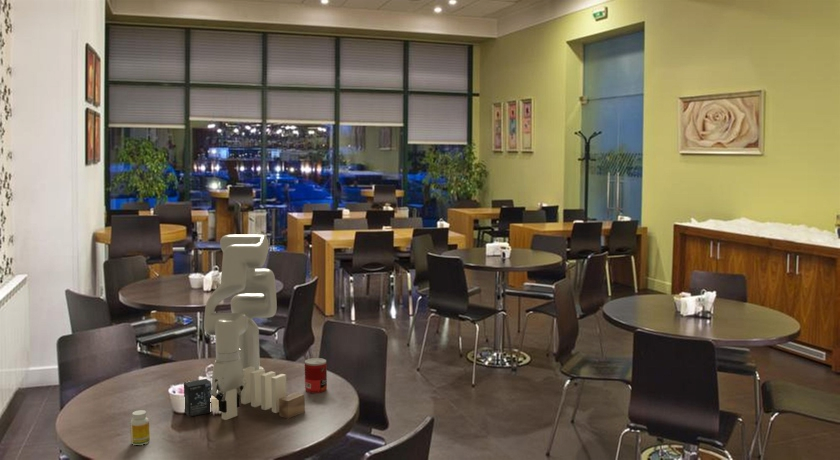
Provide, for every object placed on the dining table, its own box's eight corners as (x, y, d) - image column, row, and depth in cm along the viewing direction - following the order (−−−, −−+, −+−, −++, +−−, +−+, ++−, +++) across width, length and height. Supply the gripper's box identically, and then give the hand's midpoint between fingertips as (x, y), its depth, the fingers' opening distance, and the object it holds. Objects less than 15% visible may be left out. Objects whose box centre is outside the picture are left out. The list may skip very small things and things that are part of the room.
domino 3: (251, 406, 264) (250, 372, 263) (261, 401, 269) (260, 368, 267) (255, 407, 263) (254, 373, 262) (265, 403, 267) (265, 369, 266)
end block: (279, 416, 255) (279, 398, 254) (296, 409, 261) (295, 392, 261) (288, 418, 253) (287, 401, 252) (304, 411, 259) (304, 394, 258)
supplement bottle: (127, 442, 233) (126, 412, 231) (144, 437, 236) (143, 407, 235) (136, 447, 229) (134, 416, 228) (153, 442, 233) (151, 412, 232)
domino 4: (261, 408, 262) (260, 374, 260) (271, 404, 266) (271, 371, 264) (265, 410, 261) (264, 375, 259) (276, 405, 265) (275, 372, 263)
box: (189, 417, 254) (188, 386, 252) (184, 412, 258) (183, 382, 257) (212, 412, 258) (211, 382, 257) (207, 407, 263) (206, 378, 261)
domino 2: (241, 403, 267) (240, 369, 266) (251, 399, 271) (250, 366, 270) (245, 404, 266) (244, 370, 265) (255, 400, 270) (254, 367, 269)
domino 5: (271, 411, 259) (271, 377, 257) (282, 407, 263) (281, 373, 262) (276, 413, 258) (275, 378, 256) (286, 408, 262) (286, 374, 260)
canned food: (325, 393, 278) (324, 363, 276) (303, 393, 278) (302, 363, 276) (328, 386, 285) (327, 357, 284) (306, 386, 285) (306, 357, 284)
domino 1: (221, 418, 252) (220, 383, 251) (233, 414, 256) (232, 379, 255) (225, 420, 251) (224, 384, 250) (237, 415, 255) (236, 380, 254)
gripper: (239, 348, 260) (240, 399, 263) (199, 360, 246) (201, 414, 249) (255, 351, 256) (256, 404, 258) (215, 364, 242) (217, 419, 244)
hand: (229, 408), depth 254 cm, fingers closed on domino 1, 4 cm apart
